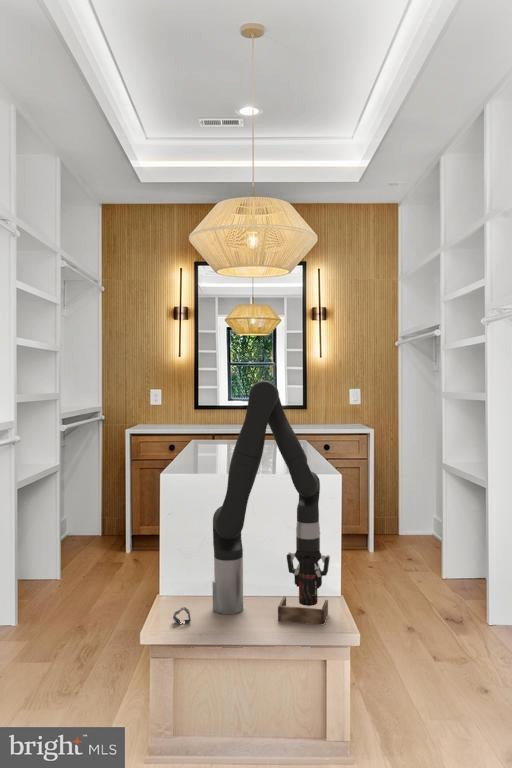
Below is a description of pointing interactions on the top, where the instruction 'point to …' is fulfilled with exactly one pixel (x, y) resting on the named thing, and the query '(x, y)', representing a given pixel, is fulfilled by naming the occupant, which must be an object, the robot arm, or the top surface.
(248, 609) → the top surface
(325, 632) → the top surface
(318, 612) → the wooden u-shaped frame
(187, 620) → the wristwatch
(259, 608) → the top surface
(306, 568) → the deodorant
